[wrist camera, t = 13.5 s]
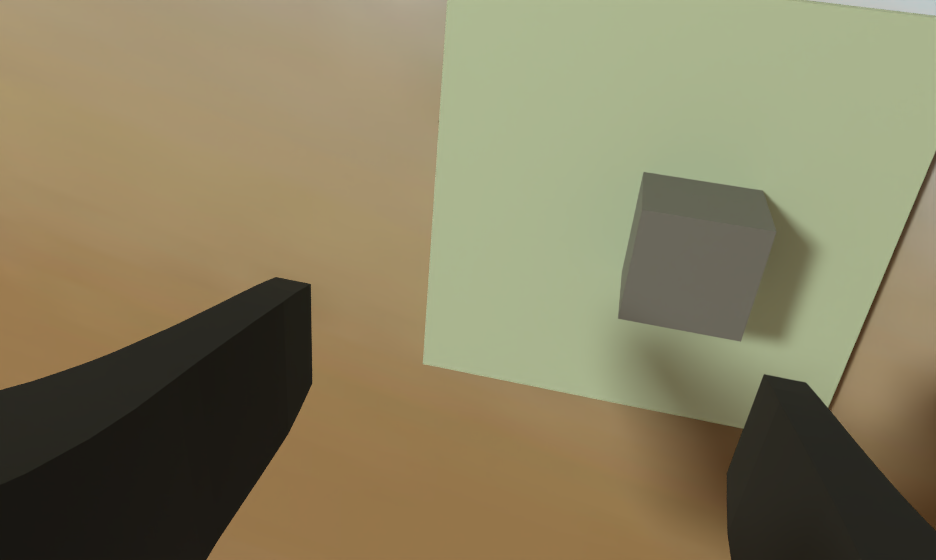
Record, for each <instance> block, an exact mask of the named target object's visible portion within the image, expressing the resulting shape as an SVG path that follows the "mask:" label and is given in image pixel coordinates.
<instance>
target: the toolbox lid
mask: <svg viewBox="0 0 936 560" xmlns="http://www.w3.org/2000/svg"><path fill="white" fill-rule="evenodd" d="M935 151H936V16H933V15H925V14H916V13H908V12H899V11H891V10H883V9H874V8H866V7H858V6H849V5H841V4H832V3H824V2H816V1H807V0H447V12H446V27H445V42H444V57H443V71H442V86H441V101H440V116H439V131H438V146H437V161H436V176H435V191H434V206H433V221H432V236H431V251H430V266H429V281H428V296H427V311H426V326H425V341H424V356H423V364H426V365H431V366H436V367H441V368H446V369H451V370H456V371H461V372H466V373H470V374H475V375H480V376H485V377H490V378H495V379H500V380H505V381H510V382H515V383H520V384H525V385H530V386H535V387H539V388H544V389H549V390H554V391H559V392H564V393H569V394H574V395H579V396H584V397H589V398H594V399H599V400H604V401H609V402H613V403H618V404H623V405H628V406H633V407H638V408H643V409H648V410H653V411H658V412H663V413H668V414H673V415H678V416H682V417H687V418H692V419H697V420H702V421H707V422H712V423H717V424H722V425H727V426H732V427H737V428H742V429H744V426H745V423H746V421H747V418H748V415H749V413H750V410H751V407H752V405H753V402H754V399H755V396H756V394H757V391H758V388H759V386H760V383H761V380H762V378H763V375H764V374H766V375H771V376H776V377H781V378H786V379H791V380H796V381H801V382H806V383H807V384H808V385H809V386H810V387H811V388H812V390H813V391H814V392H815V393H816V394H817V395H818V397H819V398H820V399H821V400H822V401H823V403H824V404H825V405H826V406H827V407H829V404H830V402H831V400H832V397H833V395H834V392H835V390H836V388H837V385H838V383H839V380H840V378H841V376H842V373H843V371H844V369H845V366H846V364H847V361H848V359H849V357H850V354H851V352H852V349H853V347H854V345H855V342H856V340H857V338H858V335H859V333H860V330H861V328H862V326H863V323H864V321H865V318H866V316H867V314H868V311H869V309H870V306H871V304H872V302H873V299H874V297H875V295H876V292H877V290H878V287H879V285H880V283H881V280H882V278H883V275H884V273H885V271H886V268H887V266H888V264H889V261H890V259H891V256H892V254H893V252H894V249H895V247H896V244H897V242H898V240H899V237H900V235H901V232H902V230H903V228H904V225H905V223H906V221H907V218H908V216H909V213H910V211H911V209H912V206H913V204H914V201H915V199H916V197H917V194H918V192H919V190H920V187H921V185H922V182H923V180H924V178H925V175H926V173H927V170H928V168H929V166H930V163H931V161H932V159H933V156H934V154H935Z"/></svg>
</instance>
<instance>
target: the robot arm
mask: <svg viewBox="0 0 936 560" xmlns="http://www.w3.org/2000/svg"><path fill="white" fill-rule="evenodd" d="M311 385H312V337H311V284H308V283H303V282H298V281H293V280H288V279H283V278H277V277H275V278H273V279H270V280H268V281H265V282H263V283H261V284H259V285H256V286H254V287H252V288H250V289H248V290H246V291H244V292H242V293H240V294H238V295H236V296H234V297H232V298H230V299H228V300H226V301H224V302H222V303H220V304H218V305H216V306H214V307H212V308H210V309H207V310H205V311H203V312H201V313H199V314H197V315H195V316H193V317H191V318H189V319H187V320H185V321H183V322H181V323H179V324H177V325H175V326H172V327H170V328H168V329H166V330H163V331H161V332H159V333H157V334H154V335H152V336H150V337H147V338H145V339H143V340H141V341H138V342H136V343H134V344H131V345H129V346H127V347H125V348H122V349H120V350H118V351H115V352H113V353H111V354H108V355H105V356H103V357H100V358H98V359H95V360H93V361H90V362H87V363H85V364H82V365H79V366H76V367H73V368H70V369H67V370H65V371H62V372H59V373H56V374H53V375H50V376H47V377H44V378H41V379H38V380H35V381H31V382H28V383H25V384H21V385H17V386H14V387H10V388H6V389H3V390H0V560H206V559H207V558H208V556H209V554H210V553H211V551H212V549H213V548H214V546H215V544H216V543H217V541H218V539H219V538H220V536H221V535H222V533H223V532H224V530H225V529H226V527H227V526H228V524H229V523H230V521H231V520H232V518H233V517H234V515H235V514H236V512H237V511H238V509H239V508H240V506H241V505H242V503H243V502H244V500H245V499H246V497H247V496H248V494H249V493H250V491H251V490H252V488H253V487H254V485H255V484H256V482H257V481H258V479H259V478H260V476H261V475H262V473H263V472H264V470H265V469H266V467H267V466H268V464H269V463H270V461H271V460H272V458H273V457H274V455H275V453H276V452H277V450H278V449H279V447H280V446H281V444H282V443H283V441H284V440H285V438H286V436H287V435H288V433H289V431H290V429H291V427H292V425H293V423H294V421H295V419H296V417H297V415H298V413H299V411H300V409H301V407H302V404H303V402H304V400H305V398H306V396H307V394H308V391H309V389H310V387H311ZM727 529H728V540H729V547H730V554H731V560H936V531H935V530H934V529H933V528H932V527H931V526H930V525H929V524H928V523H927V522H926V521H925V519H924V518H923V517H922V516H921V515H920V514H919V513H918V512H917V511H916V510H915V509H914V508H913V507H912V506H911V505H910V504H909V503H908V501H907V500H906V499H905V498H904V497H903V496H902V495H901V494H900V493H899V492H898V490H897V489H896V488H895V487H894V486H893V485H892V484H891V483H890V481H889V480H888V479H887V478H886V477H885V476H884V475H883V473H882V472H881V471H880V470H879V469H878V468H877V466H876V465H875V464H874V463H873V462H872V461H871V459H870V458H869V457H868V456H867V455H866V454H865V452H864V451H863V450H862V449H861V448H860V446H859V445H858V444H857V443H856V442H855V440H854V439H853V438H852V437H851V436H850V434H849V433H848V432H847V431H846V429H845V428H844V427H843V426H842V425H841V423H840V422H839V421H838V420H837V418H836V417H835V416H834V415H833V414H832V412H831V411H830V410H829V409H828V407H827V406H826V405H825V404H824V403H823V401H822V400H821V399H820V398H819V397H818V395H817V394H816V393H815V392H814V391H813V390H812V388H811V387H810V386H809V385H808V384H807V383H806V382H801V381H796V380H791V379H786V378H781V377H776V376H771V375H766V374H764V375H763V378H762V380H761V383H760V386H759V388H758V391H757V394H756V396H755V399H754V402H753V405H752V407H751V410H750V413H749V415H748V418H747V421H746V423H745V426H744V429H743V431H742V434H741V437H740V439H739V442H738V445H737V448H736V450H735V453H734V456H733V458H732V461H731V464H730V466H729V469H728V472H727Z"/></svg>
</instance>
